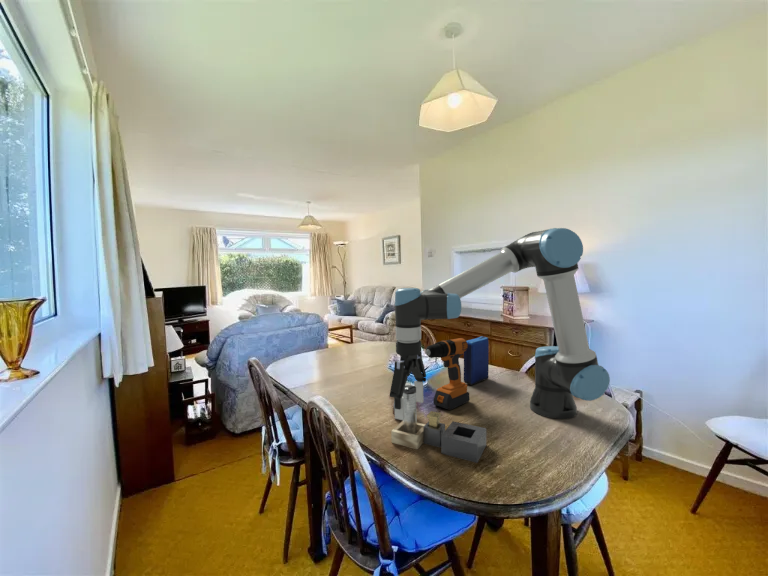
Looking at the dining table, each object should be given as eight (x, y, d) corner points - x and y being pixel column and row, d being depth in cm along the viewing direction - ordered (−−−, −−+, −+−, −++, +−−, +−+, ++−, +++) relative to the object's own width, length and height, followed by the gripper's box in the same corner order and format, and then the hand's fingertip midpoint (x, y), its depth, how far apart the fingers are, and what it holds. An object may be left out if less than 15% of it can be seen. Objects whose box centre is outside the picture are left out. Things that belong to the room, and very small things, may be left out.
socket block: (486, 448, 99) (486, 428, 99) (477, 466, 91) (477, 444, 90) (432, 435, 107) (432, 417, 107) (420, 450, 99) (419, 430, 98)
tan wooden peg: (441, 438, 102) (441, 413, 102) (437, 443, 100) (437, 417, 99) (431, 436, 104) (431, 411, 103) (427, 440, 101) (427, 415, 101)
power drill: (435, 417, 120) (434, 347, 119) (420, 410, 126) (419, 343, 124) (473, 400, 134) (472, 337, 132) (458, 395, 140) (457, 335, 138)
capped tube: (419, 437, 104) (418, 386, 103) (413, 443, 101) (412, 391, 100) (407, 434, 106) (406, 384, 105) (401, 440, 103) (399, 388, 102)
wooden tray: (428, 439, 105) (428, 425, 105) (417, 452, 98) (417, 437, 98) (404, 433, 109) (403, 419, 109) (391, 445, 102) (391, 431, 102)
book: (481, 376, 162) (480, 334, 161) (490, 379, 158) (490, 336, 156) (462, 384, 153) (461, 339, 151) (472, 387, 149) (472, 341, 147)
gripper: (414, 331, 114) (415, 393, 116) (375, 348, 93) (377, 424, 94) (435, 333, 110) (436, 397, 112) (400, 351, 89) (402, 430, 90)
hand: (409, 409), depth 103 cm, fingers open, 13 cm apart
